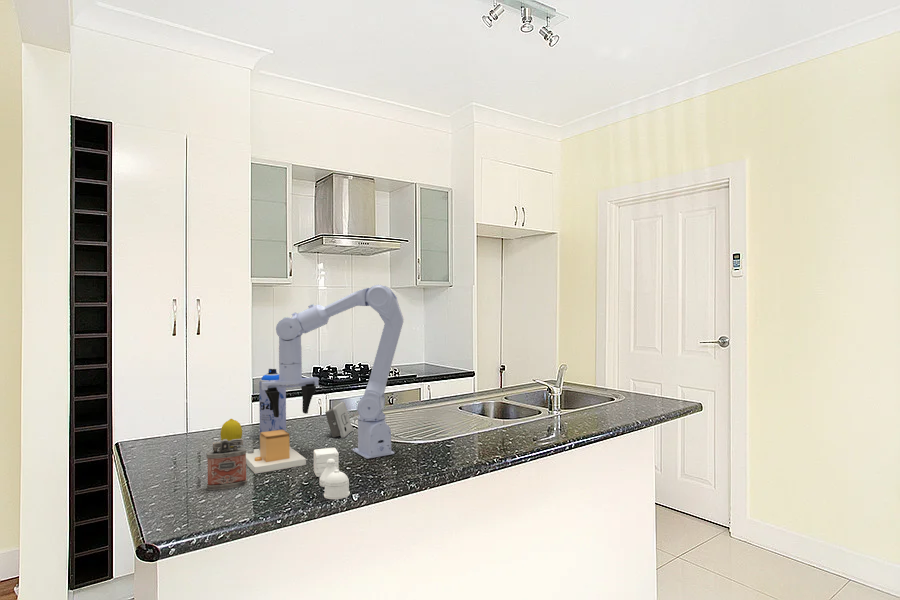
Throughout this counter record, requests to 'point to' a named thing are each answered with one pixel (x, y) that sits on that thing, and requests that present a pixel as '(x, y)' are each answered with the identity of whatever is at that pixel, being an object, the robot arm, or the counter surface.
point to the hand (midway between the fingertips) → (291, 414)
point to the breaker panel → (262, 466)
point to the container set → (330, 473)
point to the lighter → (226, 465)
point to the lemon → (231, 430)
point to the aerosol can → (266, 411)
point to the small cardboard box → (274, 445)
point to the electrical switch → (339, 420)
